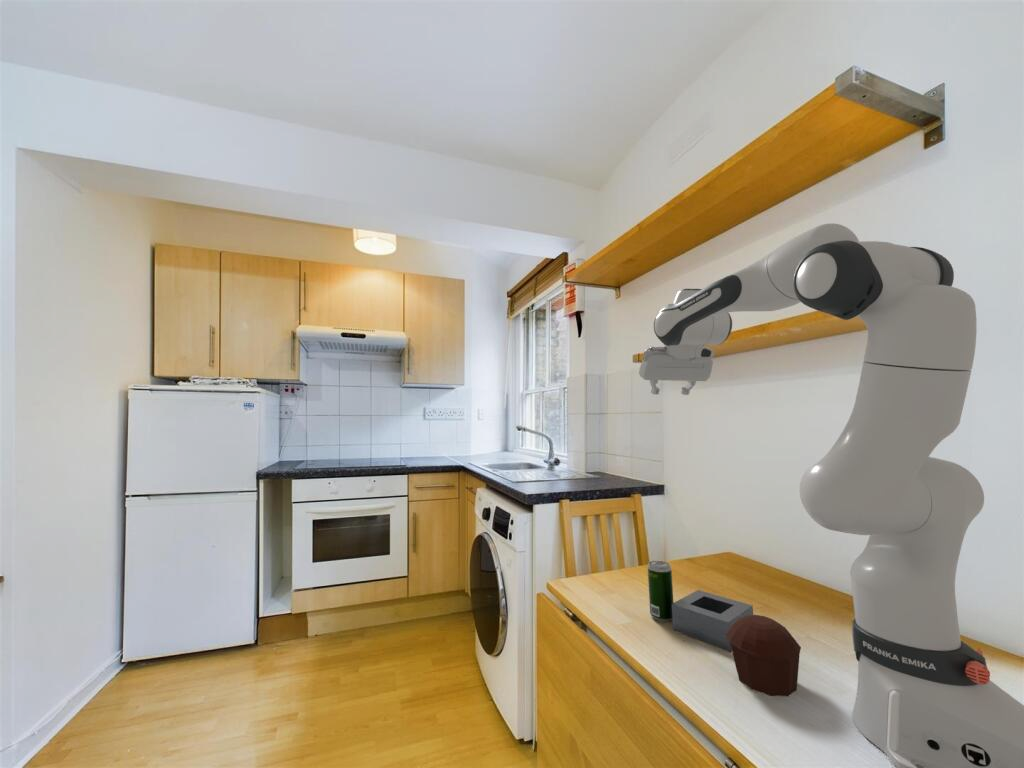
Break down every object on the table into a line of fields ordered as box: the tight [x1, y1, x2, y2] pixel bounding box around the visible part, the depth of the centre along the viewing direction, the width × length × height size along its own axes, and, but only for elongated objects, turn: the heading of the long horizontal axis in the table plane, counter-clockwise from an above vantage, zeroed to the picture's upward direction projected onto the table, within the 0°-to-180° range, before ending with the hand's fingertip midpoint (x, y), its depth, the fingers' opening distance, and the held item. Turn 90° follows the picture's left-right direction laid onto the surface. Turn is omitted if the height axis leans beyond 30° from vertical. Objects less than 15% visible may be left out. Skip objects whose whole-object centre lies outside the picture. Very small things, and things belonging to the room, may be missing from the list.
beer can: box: [647, 560, 674, 623], centre depth 97 cm, size 5×5×12 cm
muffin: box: [726, 614, 802, 697], centre depth 72 cm, size 12×11×10 cm
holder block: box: [672, 589, 754, 653], centre depth 90 cm, size 12×12×6 cm
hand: (669, 394), depth 118 cm, fingers open, 8 cm apart
